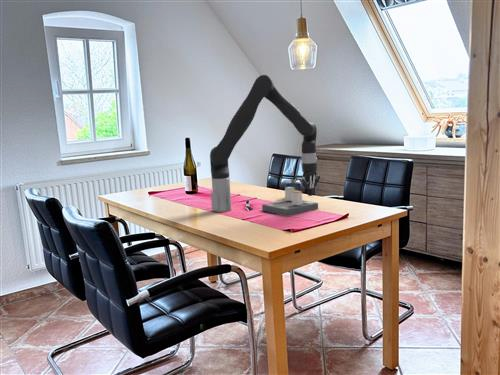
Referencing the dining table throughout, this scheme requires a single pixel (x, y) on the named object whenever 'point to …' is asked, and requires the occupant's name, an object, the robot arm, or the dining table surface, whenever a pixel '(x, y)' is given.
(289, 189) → the block
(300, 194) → the block
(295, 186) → the flask
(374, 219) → the dining table surface
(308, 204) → the dual slider panel
